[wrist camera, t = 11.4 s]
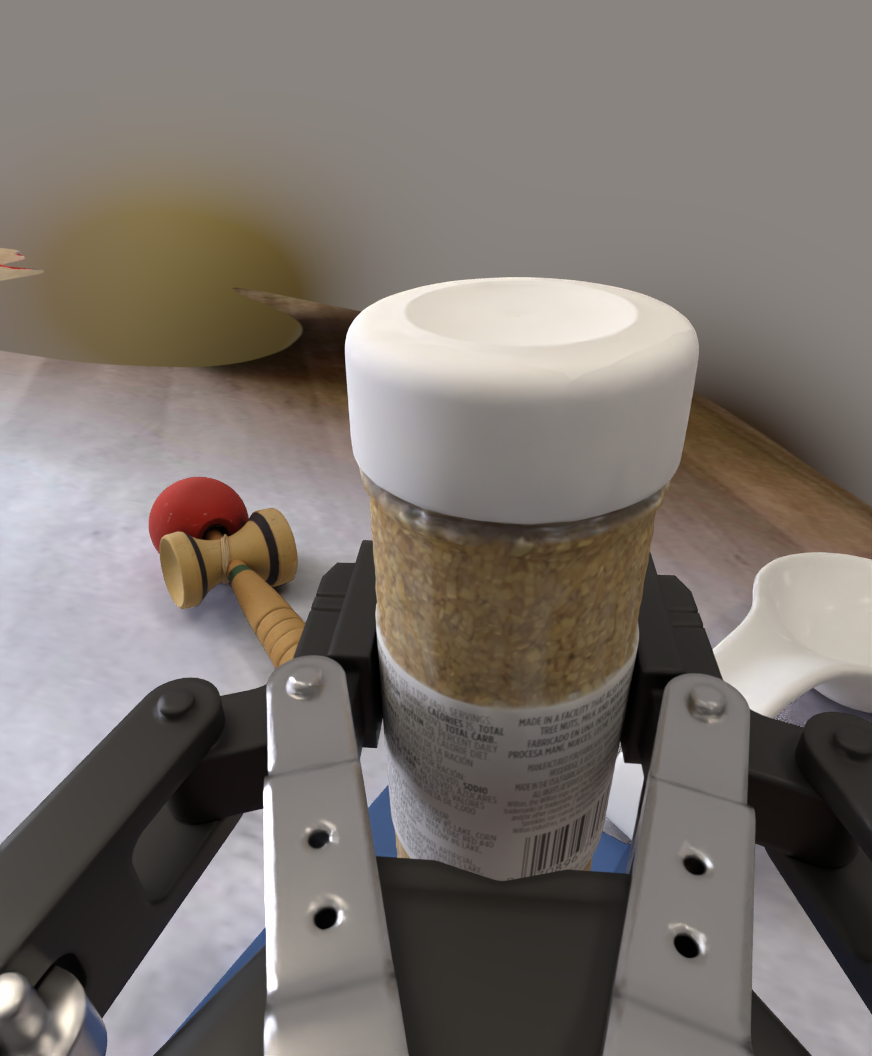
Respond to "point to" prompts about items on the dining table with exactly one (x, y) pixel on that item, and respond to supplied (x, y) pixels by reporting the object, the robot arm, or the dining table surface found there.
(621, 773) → the spoon rest
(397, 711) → the spice jar
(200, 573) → the kendama
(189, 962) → the dining table surface
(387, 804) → the blue flat rectangular slab
